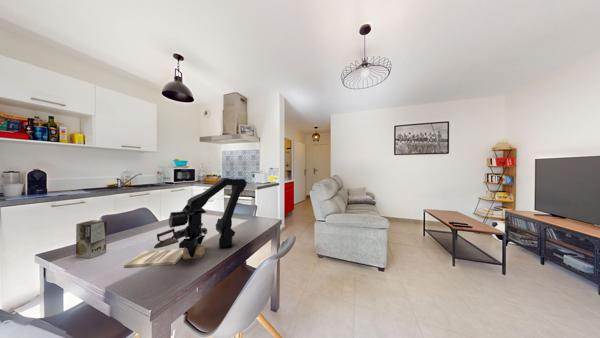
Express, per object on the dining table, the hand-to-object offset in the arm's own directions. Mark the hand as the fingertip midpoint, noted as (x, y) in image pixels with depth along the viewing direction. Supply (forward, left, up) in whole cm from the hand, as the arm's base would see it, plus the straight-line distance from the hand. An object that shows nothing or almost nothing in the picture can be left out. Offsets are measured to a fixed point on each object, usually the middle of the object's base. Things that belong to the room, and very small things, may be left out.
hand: (194, 254), depth 87 cm
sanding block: (0, 0, -1) cm, 1 cm away
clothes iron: (+22, -17, -1) cm, 28 cm away
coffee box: (+50, -9, -1) cm, 51 cm away
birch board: (+16, 0, -1) cm, 16 cm away
